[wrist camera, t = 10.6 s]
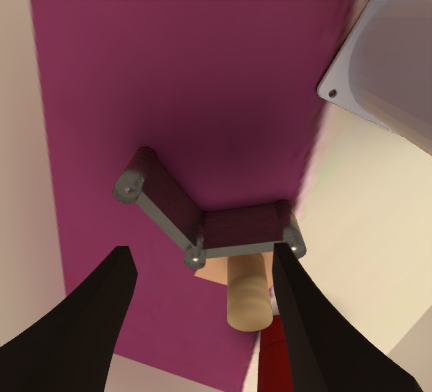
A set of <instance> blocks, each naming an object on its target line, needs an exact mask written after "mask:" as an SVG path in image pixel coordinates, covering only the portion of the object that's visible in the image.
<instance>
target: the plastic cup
mask: <svg viewBox="0 0 432 392" xmlns="http://www.w3.org/2000/svg"><path fill="white" fill-rule="evenodd" d="M257 392H293V385H292V378H291V370H290V363H289V357H288V350H287V344H286V339H285V334H284V330H283V326H282V322H281V318H280V315H279V316H275V317H273V320H272V323H271V324H270V325H269V326H268V327H266V328H264V329H262V330H261V337H260V352H259V362H258V385H257Z"/></svg>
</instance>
